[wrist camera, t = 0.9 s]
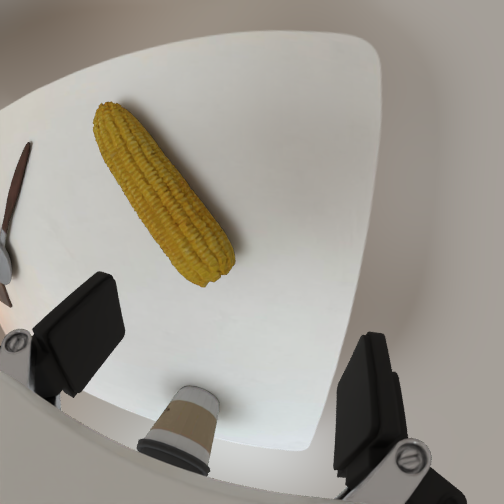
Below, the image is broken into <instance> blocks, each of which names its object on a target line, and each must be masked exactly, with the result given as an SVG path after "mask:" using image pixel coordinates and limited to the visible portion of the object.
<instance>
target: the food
mask: <svg viewBox="0 0 504 504" xmlns="http://www.w3.org/2000/svg"><path fill="white" fill-rule="evenodd" d="M93 124H94V127H93V132H94V136H95V138H96V142H97V144H98V146H99V150H100V152H101V155H102V157H103V159H104V161H105V163H106V164H107V167H109V170H110V171H111V173H112V174H113V176H114V177H115V179H116V180H117V183H118V185H120V186H121V188H122V191H123V192H124V194H125V195H126V197H127V199H128V200H129V202H130V204H131V205H132V207H133V208H134V211H136V212H137V214H138V217H139V219H141V220H142V222H143V223H144V225H145V227H147V229H148V230H149V232H150V234H151V235H152V237H153V238H154V240H155V241H156V242H157V243H158V244H159V245H160V248H161V249H162V250H163V252H164V253H165V254H166V256H167V257H169V260H171V263H172V265H173V266H174V267H175V268H176V269H177V270H178V272H179V273H180V274H181V275H183V276H184V277H185V278H186V279H187V280H188V281H190V282H192V283H194V284H196V285H199V286H200V287H206V285H207V284H208V282H210V281H211V282H215V281H217V280H218V279H219V278H221V275H227V274H228V273H229V271H230V270H231V268H232V266H234V264H235V262H236V261H235V254H234V250H233V247H232V245H231V243H230V241H229V239H228V238H227V235H226V234H225V232H224V231H223V230H222V228H221V227H220V226H219V223H217V222H216V220H215V219H214V218H213V216H212V215H211V214H210V212H209V211H208V209H207V208H206V207H205V206H204V204H203V203H202V202H201V200H200V199H199V198H198V196H197V195H196V194H195V193H194V191H193V190H191V189H190V187H189V185H188V183H187V182H186V180H185V179H184V178H183V177H182V175H181V174H180V173H179V171H178V170H177V169H176V168H175V165H172V164H171V162H170V160H169V159H168V158H167V157H166V156H165V155H164V153H163V152H162V150H161V148H159V147H158V144H157V143H156V142H155V141H154V139H153V138H152V137H151V135H150V134H149V133H148V132H147V130H146V129H145V128H144V127H143V126H142V125H141V123H140V122H139V120H137V118H135V117H134V116H133V115H132V114H131V113H130V112H129V111H127V109H125V108H123V107H121V105H120V104H118V103H116V104H115V103H113V102H112V101H111V102H105V104H104V105H103V104H102V103H101V104H100V105H99V108H98V109H97V110H96V113H95V117H94V120H93Z"/></svg>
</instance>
